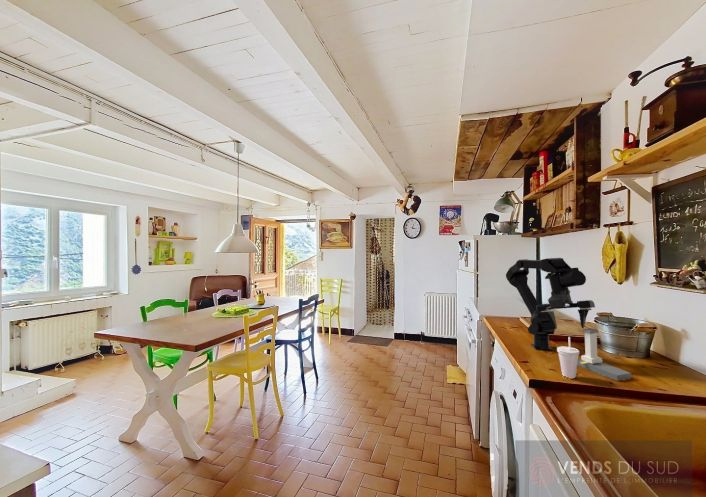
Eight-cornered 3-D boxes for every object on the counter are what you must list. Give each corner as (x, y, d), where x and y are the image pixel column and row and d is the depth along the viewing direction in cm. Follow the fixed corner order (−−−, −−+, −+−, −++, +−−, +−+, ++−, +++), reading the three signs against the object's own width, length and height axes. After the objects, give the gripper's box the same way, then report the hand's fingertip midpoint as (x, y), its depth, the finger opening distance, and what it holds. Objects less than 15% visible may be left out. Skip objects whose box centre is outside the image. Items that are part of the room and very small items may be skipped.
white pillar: (581, 359, 113) (580, 328, 113) (591, 358, 114) (589, 327, 114) (592, 363, 109) (590, 331, 109) (601, 362, 110) (600, 330, 110)
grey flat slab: (574, 365, 113) (573, 359, 113) (593, 362, 115) (593, 356, 115) (613, 382, 100) (613, 375, 100) (634, 378, 102) (634, 371, 102)
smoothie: (584, 381, 101) (583, 340, 101) (563, 380, 102) (561, 339, 102) (574, 373, 107) (573, 334, 107) (554, 372, 108) (552, 334, 108)
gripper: (526, 291, 124) (534, 330, 120) (580, 285, 110) (591, 329, 106) (538, 291, 131) (546, 328, 127) (590, 285, 116) (600, 327, 113)
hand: (569, 328), depth 118 cm, fingers open, 9 cm apart
